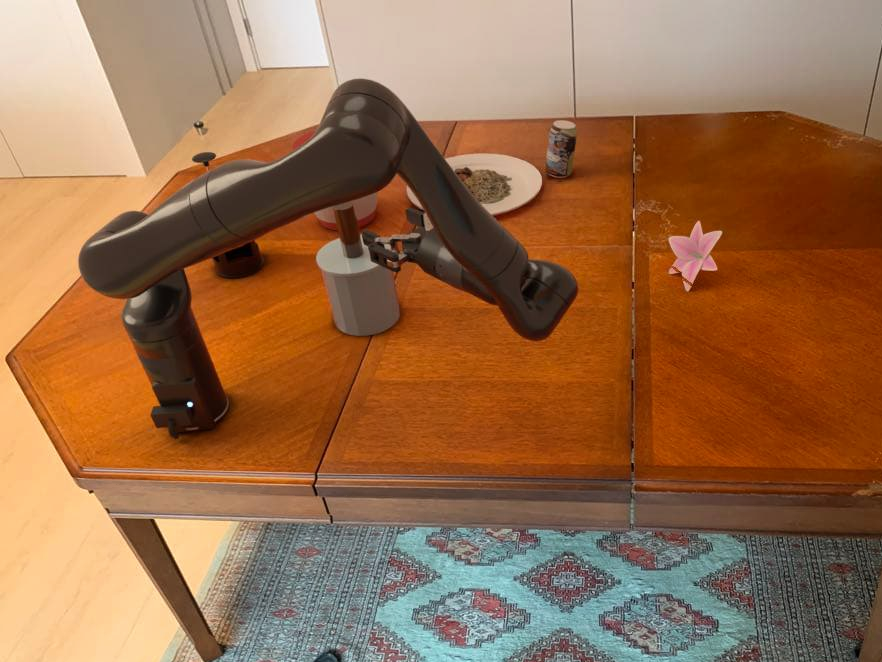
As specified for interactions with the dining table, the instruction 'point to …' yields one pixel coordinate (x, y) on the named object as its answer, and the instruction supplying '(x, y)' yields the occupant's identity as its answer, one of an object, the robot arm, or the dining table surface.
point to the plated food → (494, 180)
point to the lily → (694, 253)
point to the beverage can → (561, 148)
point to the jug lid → (346, 247)
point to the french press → (249, 249)
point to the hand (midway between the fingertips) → (386, 224)
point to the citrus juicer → (363, 206)
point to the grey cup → (363, 301)
